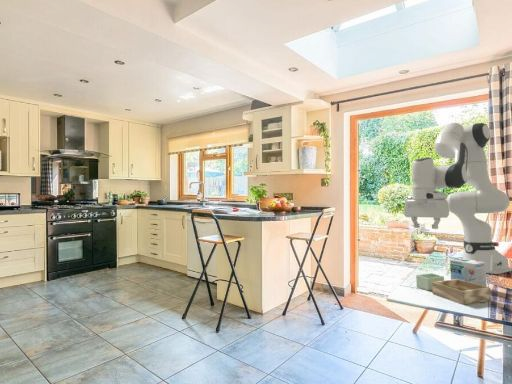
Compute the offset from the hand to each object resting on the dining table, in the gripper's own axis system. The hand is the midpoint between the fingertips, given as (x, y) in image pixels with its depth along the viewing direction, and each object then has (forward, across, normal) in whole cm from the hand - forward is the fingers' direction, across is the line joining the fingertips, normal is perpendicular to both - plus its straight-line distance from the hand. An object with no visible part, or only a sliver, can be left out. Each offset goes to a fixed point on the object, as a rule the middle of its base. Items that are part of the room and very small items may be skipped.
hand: (425, 228), depth 132 cm
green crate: (+24, +2, -1) cm, 24 cm away
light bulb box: (+24, +7, +13) cm, 29 cm away
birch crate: (+25, +15, -1) cm, 29 cm away
